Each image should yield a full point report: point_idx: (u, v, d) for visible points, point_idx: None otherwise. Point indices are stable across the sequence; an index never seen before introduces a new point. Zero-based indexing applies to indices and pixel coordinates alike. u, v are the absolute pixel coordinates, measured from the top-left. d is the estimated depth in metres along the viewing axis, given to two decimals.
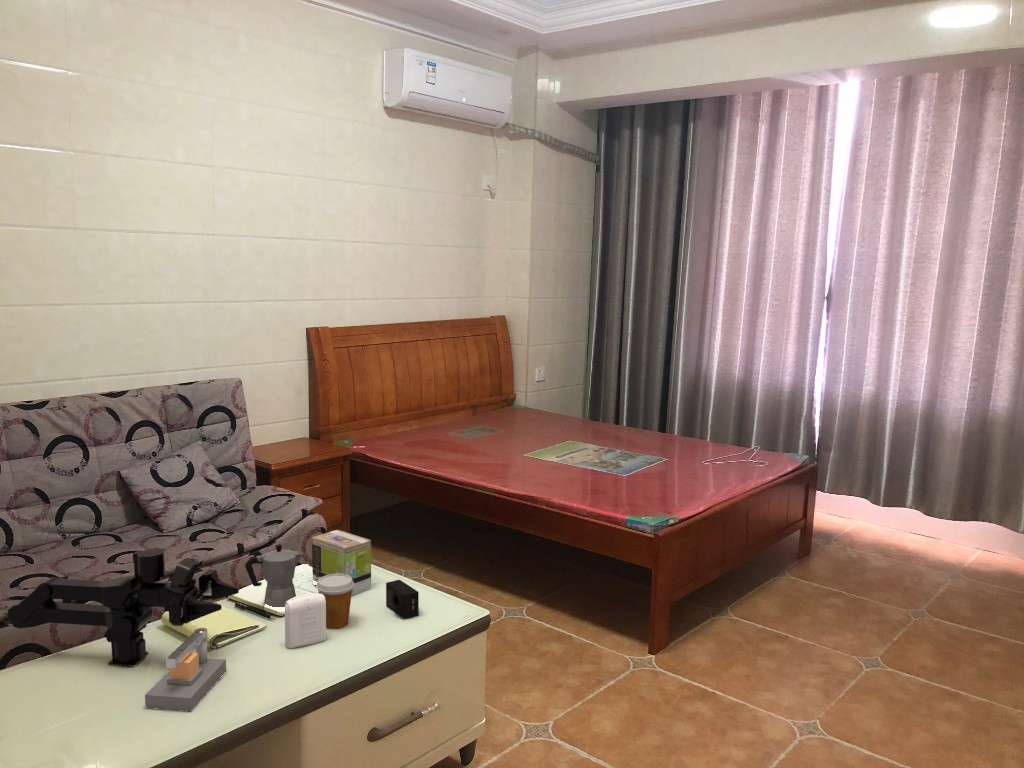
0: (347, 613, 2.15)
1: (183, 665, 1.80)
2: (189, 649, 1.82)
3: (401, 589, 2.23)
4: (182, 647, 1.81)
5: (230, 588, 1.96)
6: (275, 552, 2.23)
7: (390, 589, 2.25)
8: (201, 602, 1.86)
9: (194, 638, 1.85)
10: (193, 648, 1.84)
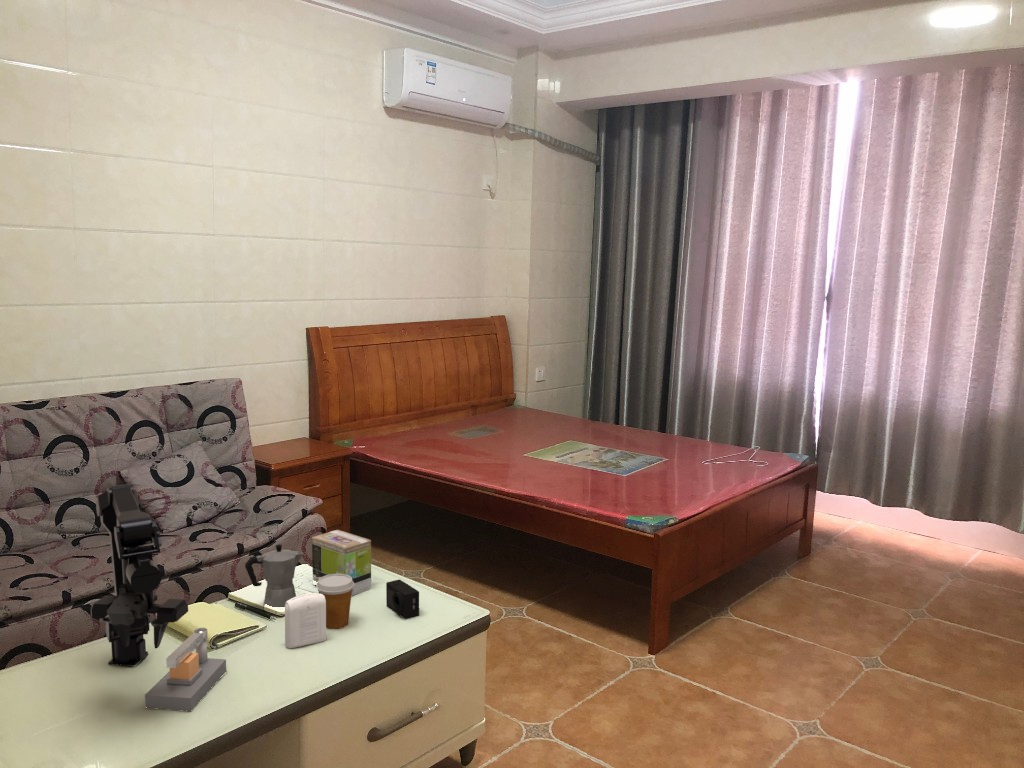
0: (347, 613, 2.15)
1: (183, 665, 1.80)
2: (189, 649, 1.82)
3: (401, 589, 2.23)
4: (182, 647, 1.81)
5: None
6: (275, 552, 2.23)
7: (390, 589, 2.26)
8: (118, 630, 1.76)
9: (194, 638, 1.85)
10: (193, 648, 1.84)
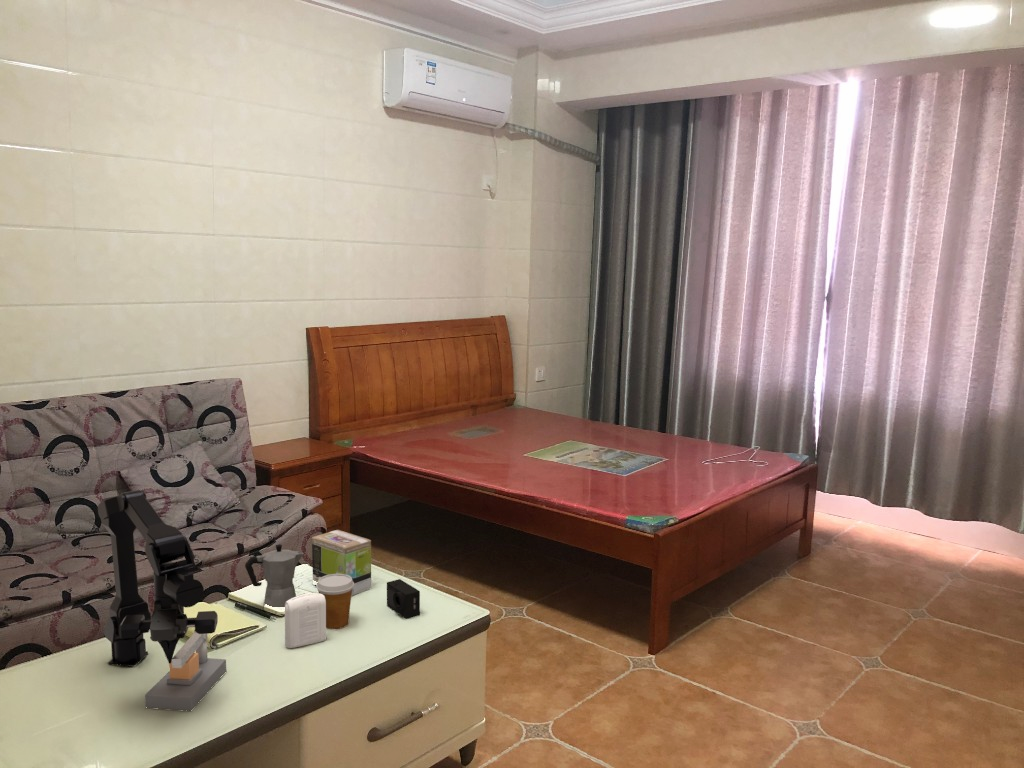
0: (347, 613, 2.15)
1: None
2: (192, 648, 1.82)
3: (402, 589, 2.23)
4: (185, 647, 1.81)
5: None
6: (275, 552, 2.23)
7: (391, 589, 2.26)
8: (164, 647, 1.76)
9: (196, 638, 1.85)
10: (195, 648, 1.84)
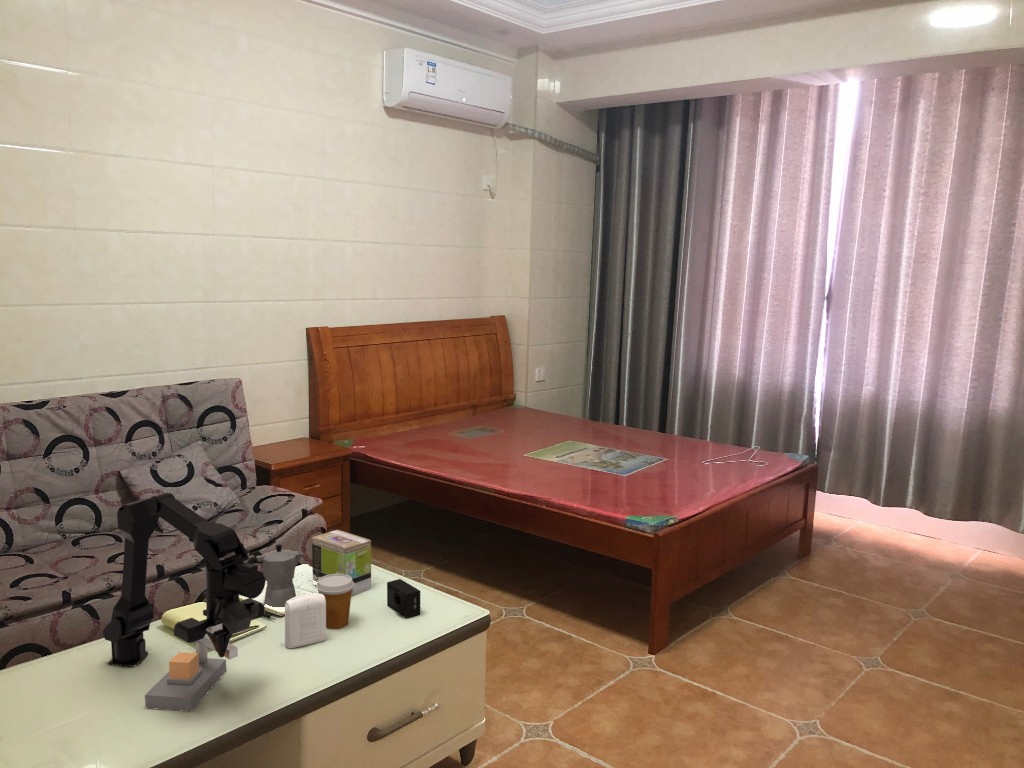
0: (347, 613, 2.15)
1: (183, 665, 1.80)
2: None
3: (402, 589, 2.23)
4: None
5: None
6: (275, 552, 2.23)
7: (391, 589, 2.26)
8: (220, 642, 1.78)
9: None
10: None
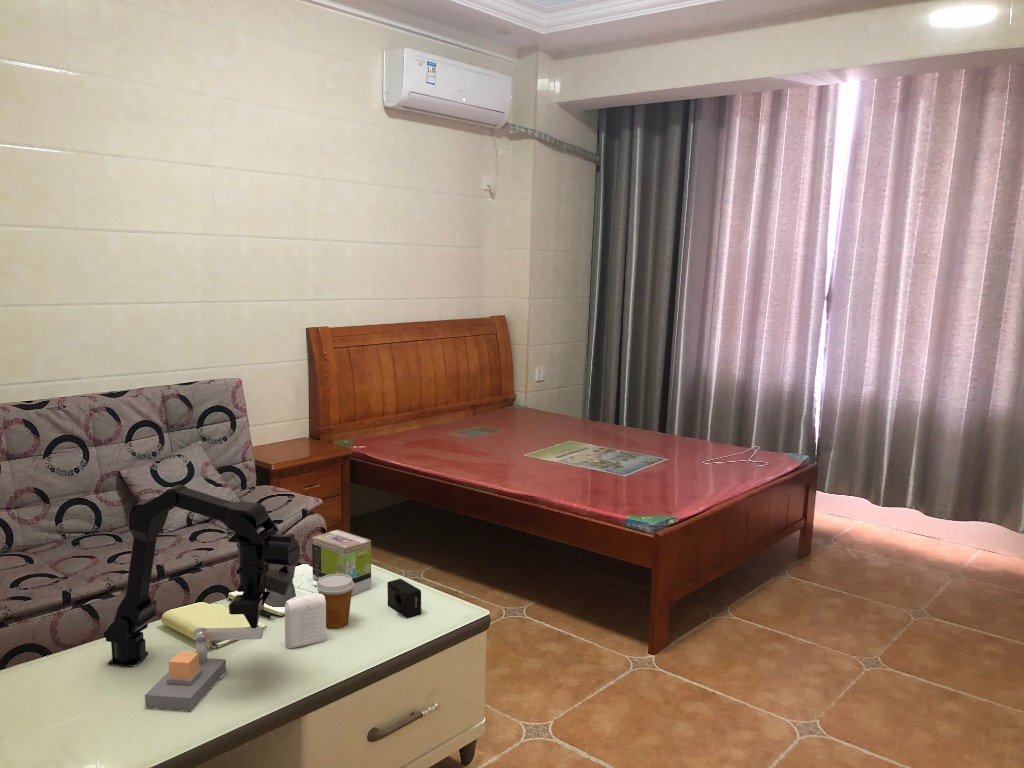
0: (347, 613, 2.15)
1: (183, 665, 1.80)
2: None
3: (403, 588, 2.23)
4: (238, 629, 1.90)
5: None
6: None
7: (392, 588, 2.26)
8: (258, 612, 1.86)
9: (219, 628, 1.90)
10: None
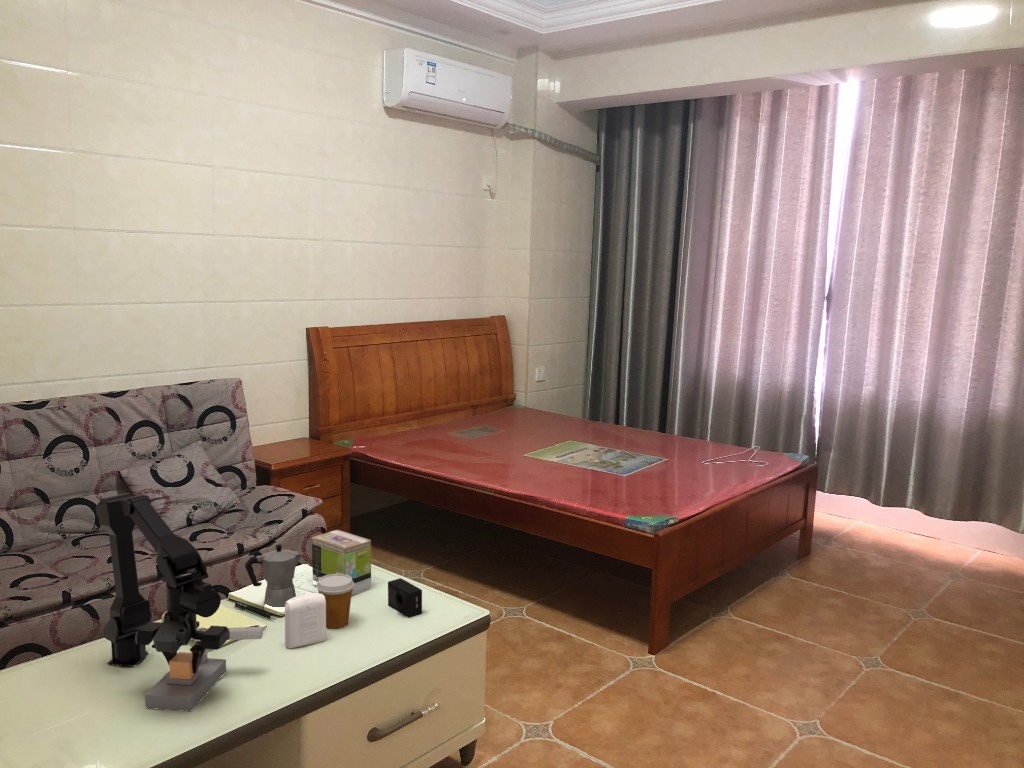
0: (347, 613, 2.15)
1: (183, 664, 1.80)
2: None
3: (404, 588, 2.24)
4: (238, 629, 1.90)
5: None
6: (275, 552, 2.23)
7: (392, 588, 2.26)
8: (166, 656, 1.81)
9: None
10: None
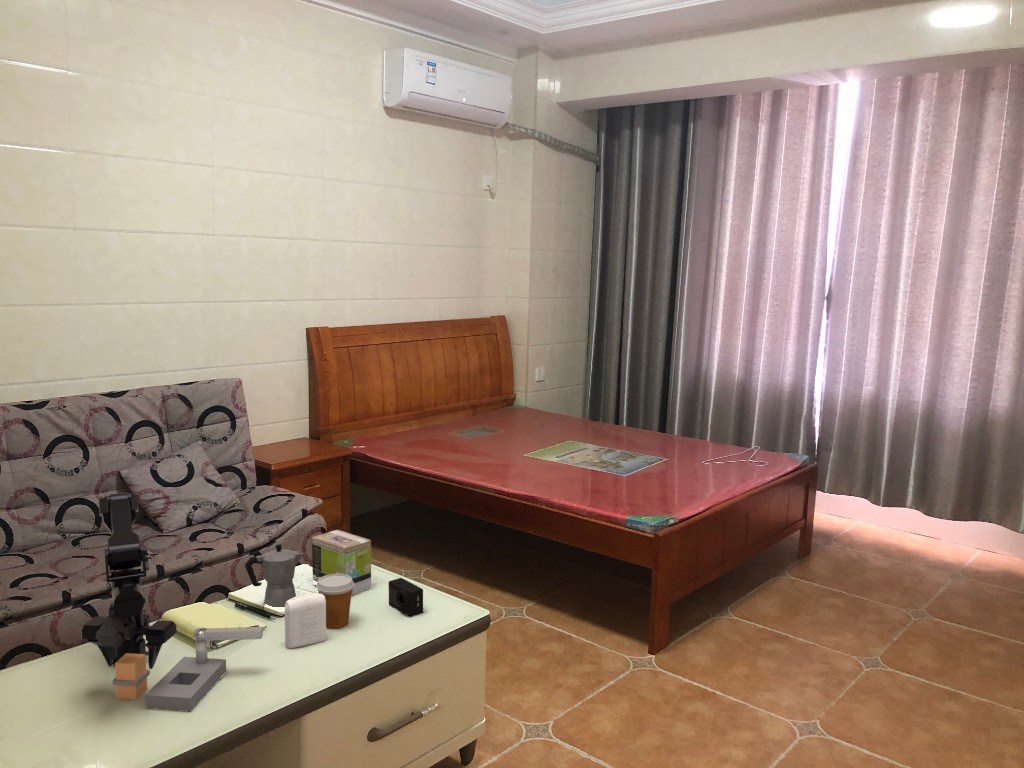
0: (347, 613, 2.15)
1: (128, 666, 1.79)
2: None
3: (405, 587, 2.24)
4: (238, 629, 1.90)
5: None
6: (275, 552, 2.23)
7: (393, 588, 2.27)
8: (102, 650, 1.80)
9: (219, 628, 1.90)
10: None
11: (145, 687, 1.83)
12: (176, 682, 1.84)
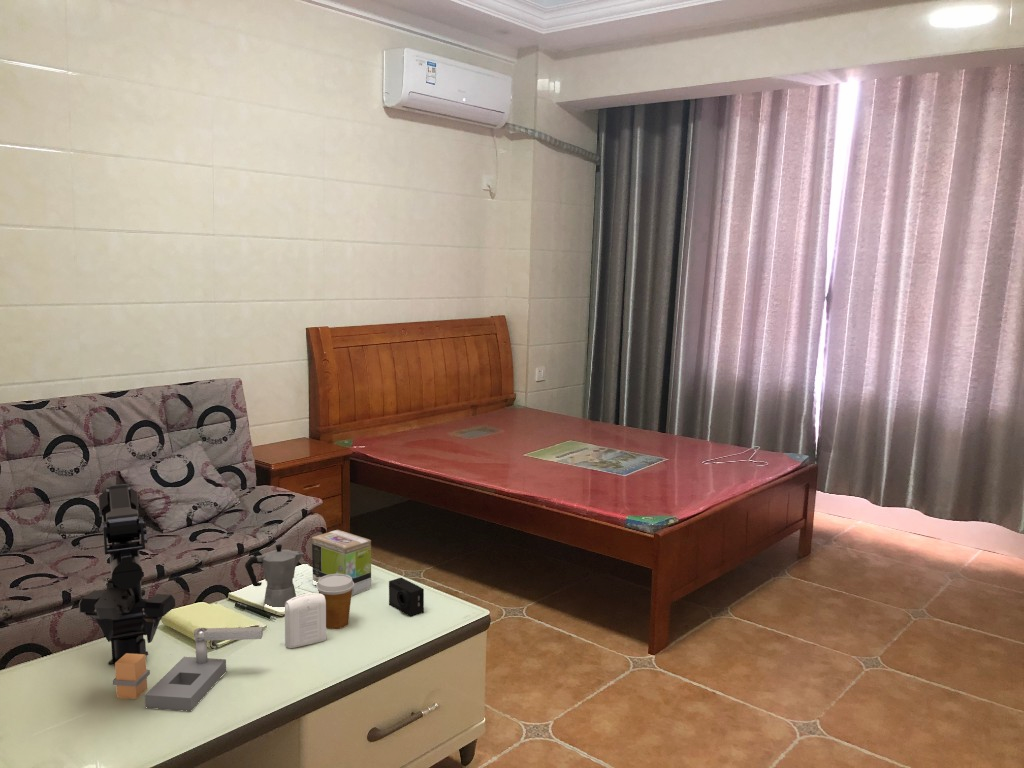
0: (347, 613, 2.15)
1: (128, 666, 1.79)
2: None
3: (406, 587, 2.24)
4: (238, 629, 1.90)
5: None
6: (275, 552, 2.23)
7: (394, 587, 2.27)
8: (100, 624, 1.79)
9: (219, 628, 1.90)
10: None
11: (145, 687, 1.83)
12: (176, 682, 1.84)
